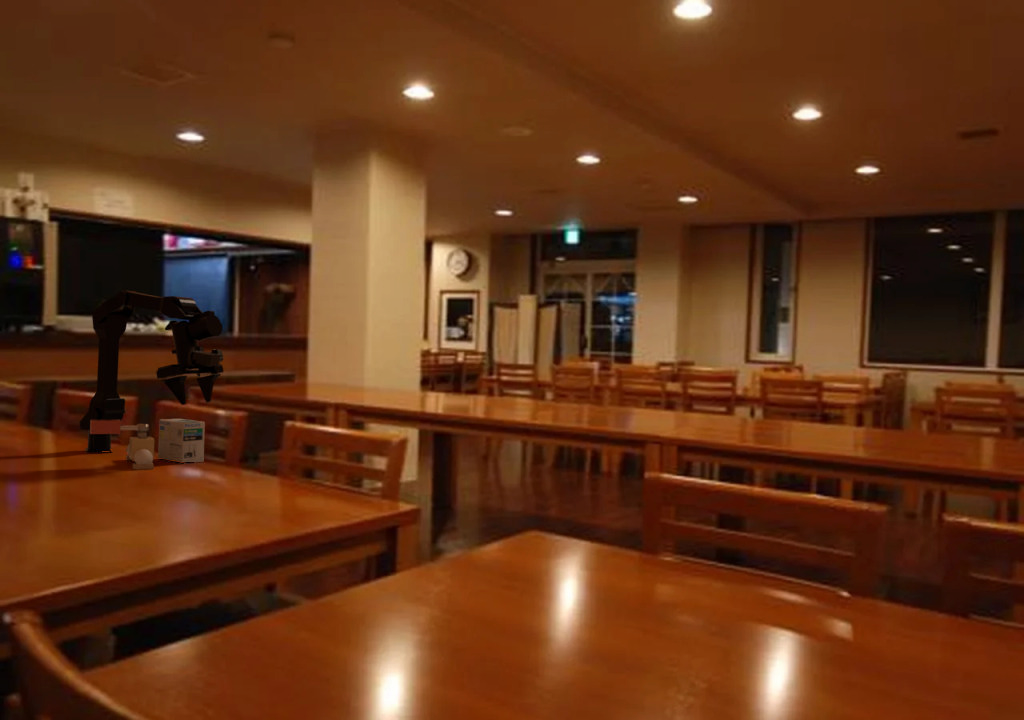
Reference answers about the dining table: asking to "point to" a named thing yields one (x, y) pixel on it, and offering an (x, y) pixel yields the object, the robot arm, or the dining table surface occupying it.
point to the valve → (141, 451)
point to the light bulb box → (181, 440)
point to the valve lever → (113, 427)
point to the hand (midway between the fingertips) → (196, 403)
